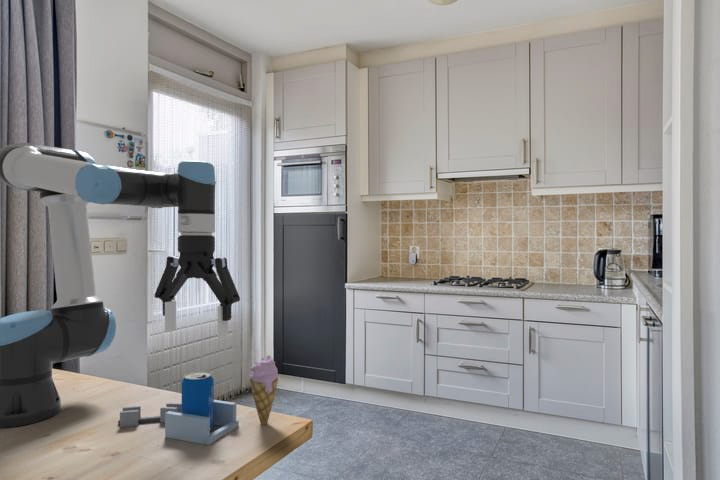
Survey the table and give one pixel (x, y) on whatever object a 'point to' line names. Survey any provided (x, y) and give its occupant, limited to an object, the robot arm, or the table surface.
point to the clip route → (133, 417)
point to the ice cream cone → (264, 386)
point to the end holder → (201, 424)
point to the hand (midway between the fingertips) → (196, 333)
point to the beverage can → (198, 395)
